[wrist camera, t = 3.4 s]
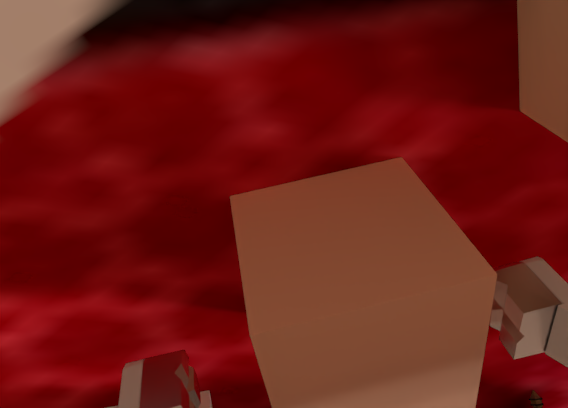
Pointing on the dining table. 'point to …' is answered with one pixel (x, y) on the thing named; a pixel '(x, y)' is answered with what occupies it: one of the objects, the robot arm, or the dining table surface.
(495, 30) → the dining table surface
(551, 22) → the block oak
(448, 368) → the block terracotta
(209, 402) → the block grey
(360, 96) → the dining table surface
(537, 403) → the game die
